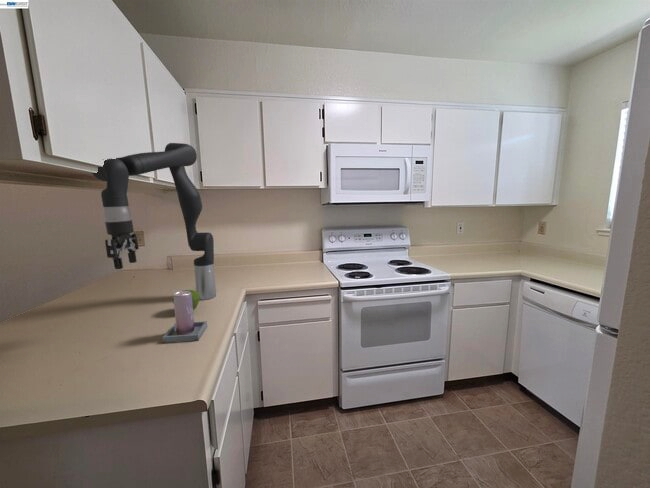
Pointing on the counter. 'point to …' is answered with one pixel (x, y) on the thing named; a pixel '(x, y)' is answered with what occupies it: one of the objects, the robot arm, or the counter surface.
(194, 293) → the apple
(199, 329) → the tray
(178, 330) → the beverage can
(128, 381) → the counter surface
